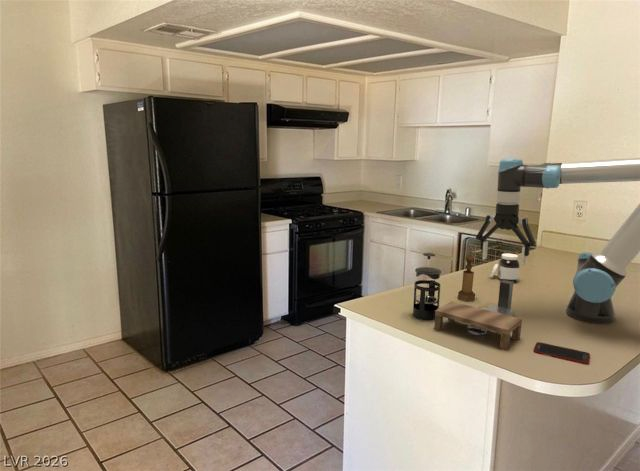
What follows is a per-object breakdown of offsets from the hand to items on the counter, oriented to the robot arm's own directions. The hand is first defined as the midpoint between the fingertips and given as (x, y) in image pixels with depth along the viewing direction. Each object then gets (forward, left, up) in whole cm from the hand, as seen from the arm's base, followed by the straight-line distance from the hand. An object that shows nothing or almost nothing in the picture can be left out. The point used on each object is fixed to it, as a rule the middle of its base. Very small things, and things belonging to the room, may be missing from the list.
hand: (503, 261), depth 170 cm
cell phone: (-27, +22, -20) cm, 40 cm away
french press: (+18, +22, -19) cm, 34 cm away
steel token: (-2, +25, -19) cm, 32 cm away
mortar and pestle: (+15, -5, -19) cm, 25 cm away
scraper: (-2, +8, -19) cm, 21 cm away
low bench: (-2, +25, -19) cm, 31 cm away
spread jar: (+14, -41, -19) cm, 47 cm away
